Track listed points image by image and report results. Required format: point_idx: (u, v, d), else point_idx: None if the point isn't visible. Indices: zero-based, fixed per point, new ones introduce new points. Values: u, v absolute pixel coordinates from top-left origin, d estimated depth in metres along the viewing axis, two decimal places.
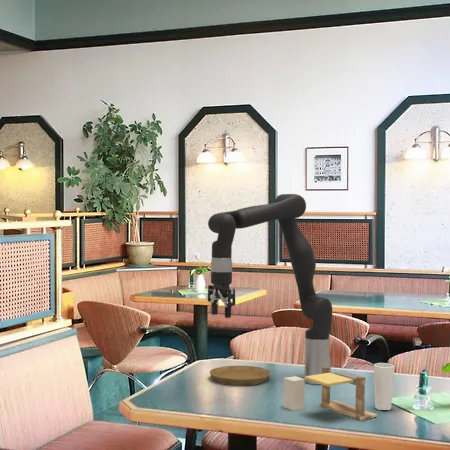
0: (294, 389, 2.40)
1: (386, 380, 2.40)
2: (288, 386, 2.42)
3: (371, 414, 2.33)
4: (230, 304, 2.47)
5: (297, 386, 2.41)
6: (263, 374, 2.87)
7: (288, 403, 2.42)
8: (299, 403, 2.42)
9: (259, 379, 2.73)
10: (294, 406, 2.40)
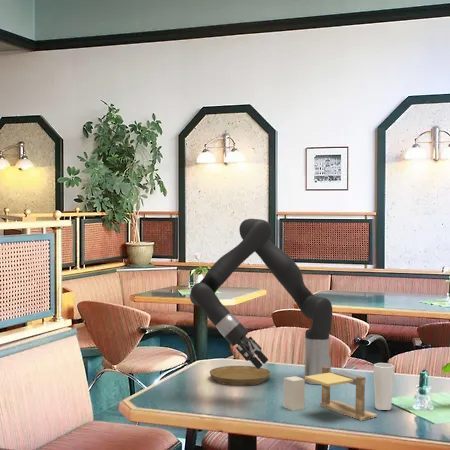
0: (294, 389, 2.40)
1: (386, 380, 2.40)
2: (288, 386, 2.42)
3: (371, 414, 2.33)
4: (246, 359, 2.41)
5: (297, 386, 2.41)
6: (263, 374, 2.87)
7: (288, 403, 2.42)
8: (299, 403, 2.42)
9: (259, 379, 2.73)
10: (294, 406, 2.40)
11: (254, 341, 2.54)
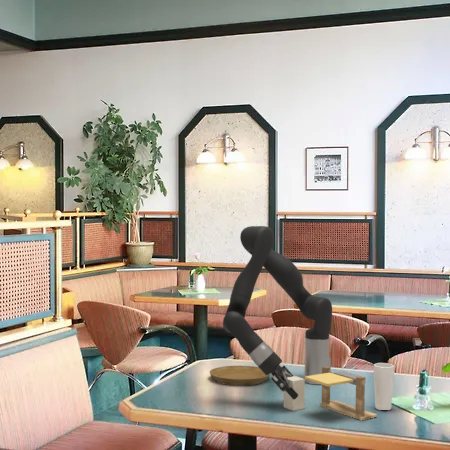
0: (294, 389, 2.40)
1: (386, 380, 2.40)
2: None
3: (371, 414, 2.33)
4: (282, 389, 2.38)
5: (297, 386, 2.41)
6: (263, 374, 2.87)
7: (288, 403, 2.42)
8: (299, 402, 2.42)
9: (259, 379, 2.73)
10: (294, 406, 2.40)
11: (288, 370, 2.50)
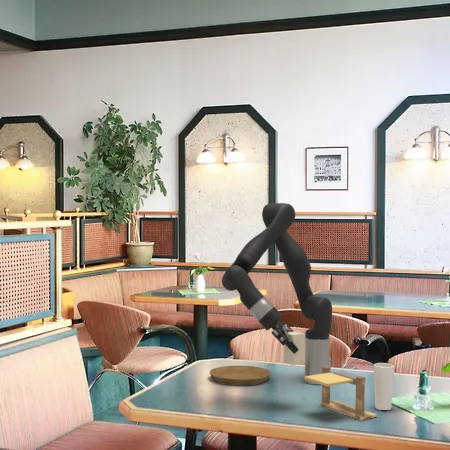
0: (294, 343, 2.40)
1: (386, 380, 2.40)
2: None
3: (371, 414, 2.33)
4: (283, 343, 2.37)
5: (297, 340, 2.41)
6: (263, 374, 2.87)
7: (288, 358, 2.42)
8: (299, 357, 2.41)
9: (259, 379, 2.73)
10: (294, 361, 2.40)
11: (288, 326, 2.50)
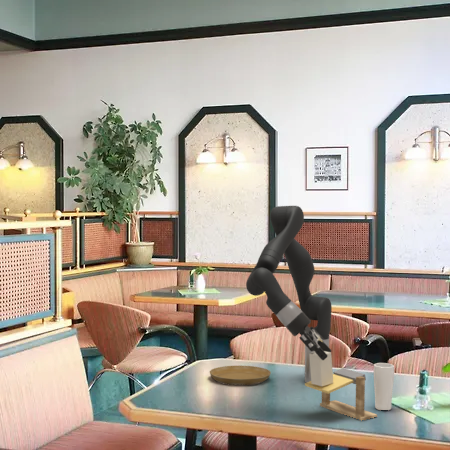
0: (321, 364, 2.30)
1: (386, 380, 2.40)
2: (314, 361, 2.32)
3: (371, 414, 2.33)
4: (311, 349, 2.27)
5: (324, 360, 2.31)
6: (263, 374, 2.87)
7: (316, 379, 2.32)
8: (327, 377, 2.31)
9: (259, 379, 2.73)
10: (322, 382, 2.30)
11: (316, 331, 2.40)
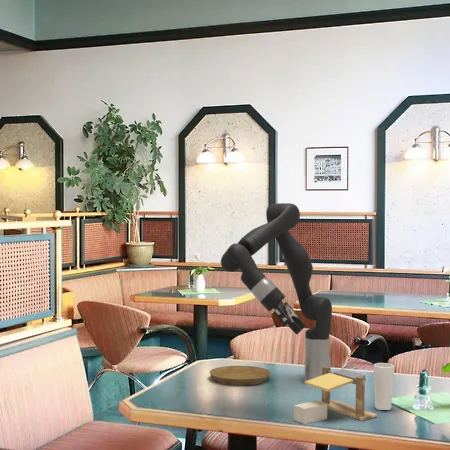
0: (311, 421, 2.28)
1: (386, 380, 2.40)
2: None
3: (371, 414, 2.33)
4: (285, 323, 2.29)
5: (309, 417, 2.27)
6: (263, 374, 2.87)
7: None
8: (322, 411, 2.30)
9: (259, 379, 2.73)
10: (324, 418, 2.31)
11: (290, 307, 2.42)
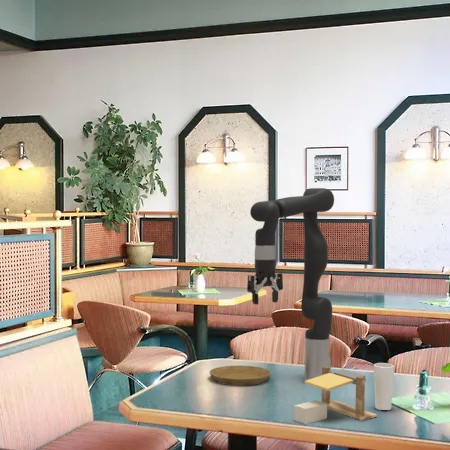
0: (311, 421, 2.28)
1: (386, 380, 2.40)
2: None
3: (371, 414, 2.33)
4: (248, 290, 2.53)
5: (309, 417, 2.27)
6: (263, 374, 2.87)
7: None
8: (322, 411, 2.31)
9: (259, 379, 2.73)
10: (324, 418, 2.31)
11: (281, 279, 2.59)
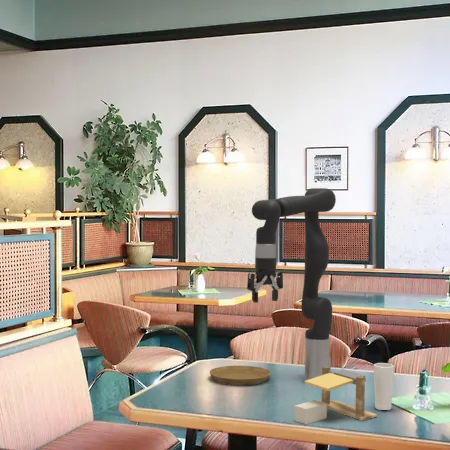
0: (311, 421, 2.28)
1: (386, 380, 2.40)
2: None
3: (371, 414, 2.33)
4: (248, 288, 2.53)
5: (310, 417, 2.27)
6: (263, 374, 2.87)
7: None
8: (322, 411, 2.31)
9: (259, 379, 2.73)
10: (323, 418, 2.31)
11: (281, 278, 2.59)
